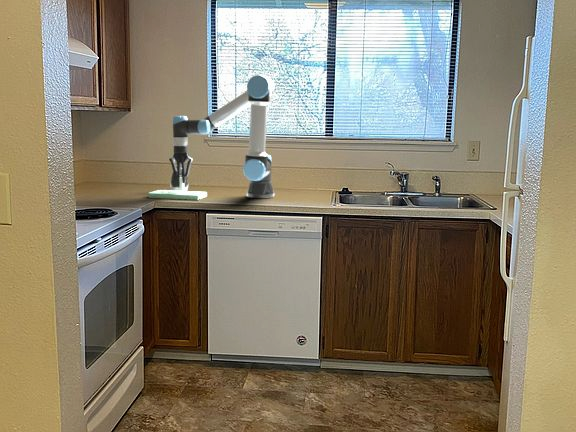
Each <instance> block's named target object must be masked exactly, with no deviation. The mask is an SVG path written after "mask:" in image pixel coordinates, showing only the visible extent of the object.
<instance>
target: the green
mask: <svg viewBox="0 0 576 432" xmlns="http://www.w3.org/2000/svg"><path fill="white" fill-rule="evenodd" d="M164 190H166V191H167V192H166V193H165V192H162V191H164ZM147 196H148V199H149V198H150V199H166V200H167V199H169V200H185V199H186V200H188V201H198V200H199V199H200V200H202V199H203V198H204V199H205V198H206V197H208V192H207V191H194V190H192V191H191V190H190V191H189V190H187V191H175V190H172V189H171V190H170V189H169V190H168V189H158V190H154V191H151V192H148V193H147Z"/></svg>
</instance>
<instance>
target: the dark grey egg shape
mask: <svg viewBox="0 0 576 432" xmlns="http://www.w3.org/2000/svg"><path fill="white" fill-rule="evenodd" d="M176 168H177V166H176ZM181 176H182V166H181ZM189 185H190V184H189V180H188V176H186V182H185V183H184V189H183V190H180V183H178V177H177V176H174V172H172V174H171V177H170V184H169V186H170V189H171V190H175V191H188V188H189Z"/></svg>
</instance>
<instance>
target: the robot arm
mask: <svg viewBox="0 0 576 432" xmlns="http://www.w3.org/2000/svg"><path fill="white" fill-rule="evenodd" d="M274 91H275V84H274V81H273V80H272V79H271V78H270V77H269V76H266V75H263V74H256V75H253V76H252V77H250V78H249V80H248V81H247V84H246V91H244V92H243V93H241V94H240V95H238V96H237V97H236V98H234V99H232V100H231V101H229V102H227V103H226V104H225V105H223V106H221V107H220V108H218V109H217V110H215V111H214V112H213V113H211V114H209V115H207V116H206V117H205V118H203V119H188V117H187V116H186V115H174V116H173V117H172V135H173V140H172V141H173V143H172V145H173V155H172V157H170V158H169V160H168V161H170V165H171V168H172V171H173V172H174V176H177V177H178V183H180V190H183V189H184V183H185V182H186V176H187V177H188V176H190V171H191V166H192V163H193V160H194V158H192V157H190V156H189V146H188V143H189V142H188V140H189V138H188V135H203V136H204V135H209V134H210V133H211V132H213V131H214V130H215V129H217V128H218V127H219V126H221V125H222V124H224V123H225V122H227V121H228V120H230V119H232V118H234V117H236V115H238V114H239V113H241V112H243V111H245V109H247V108H249V107H250V115H249V116H250V118H249V135H248V136H249V137H248V138H249V141H248V151H247V152H246V153H245V157H244V159H245V160H244V164H243V167H242V172H243V175H244V176H245V178H246V179H247V180H249V185H248V188H247V191H246V197H247V198H251V199H270V198H274V197H275V191H274V188H273V183H272V162H273V160H272V156H271V155H270V154H268V153H266V139H267V123H268V122H267V121H268V106H269V105H270V104H271V103H272V102H271V101H272V96H273V94H274ZM186 163H187V164H186ZM176 167H177V168H176ZM181 167H182V176H181ZM173 172H172V173H173Z"/></svg>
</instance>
